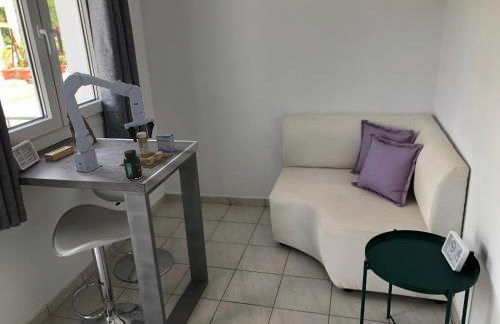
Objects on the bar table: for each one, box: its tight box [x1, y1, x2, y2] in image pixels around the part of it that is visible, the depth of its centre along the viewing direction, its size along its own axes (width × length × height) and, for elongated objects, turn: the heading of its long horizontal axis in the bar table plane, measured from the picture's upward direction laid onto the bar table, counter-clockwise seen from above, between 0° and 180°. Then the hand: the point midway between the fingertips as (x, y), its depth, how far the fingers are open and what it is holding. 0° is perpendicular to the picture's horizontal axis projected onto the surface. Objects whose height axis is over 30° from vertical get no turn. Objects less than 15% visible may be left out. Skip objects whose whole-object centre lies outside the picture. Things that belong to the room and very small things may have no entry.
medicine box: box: [155, 133, 176, 153], centre depth 203 cm, size 8×4×9 cm, turn 76°
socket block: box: [119, 150, 173, 169], centre depth 192 cm, size 18×18×3 cm
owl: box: [66, 110, 98, 147], centre depth 225 cm, size 13×13×20 cm
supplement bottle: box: [122, 149, 144, 180], centre depth 170 cm, size 7×7×12 cm
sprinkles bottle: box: [136, 131, 150, 158], centre depth 190 cm, size 5×5×14 cm
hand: (142, 140), depth 188 cm, fingers open, 7 cm apart
